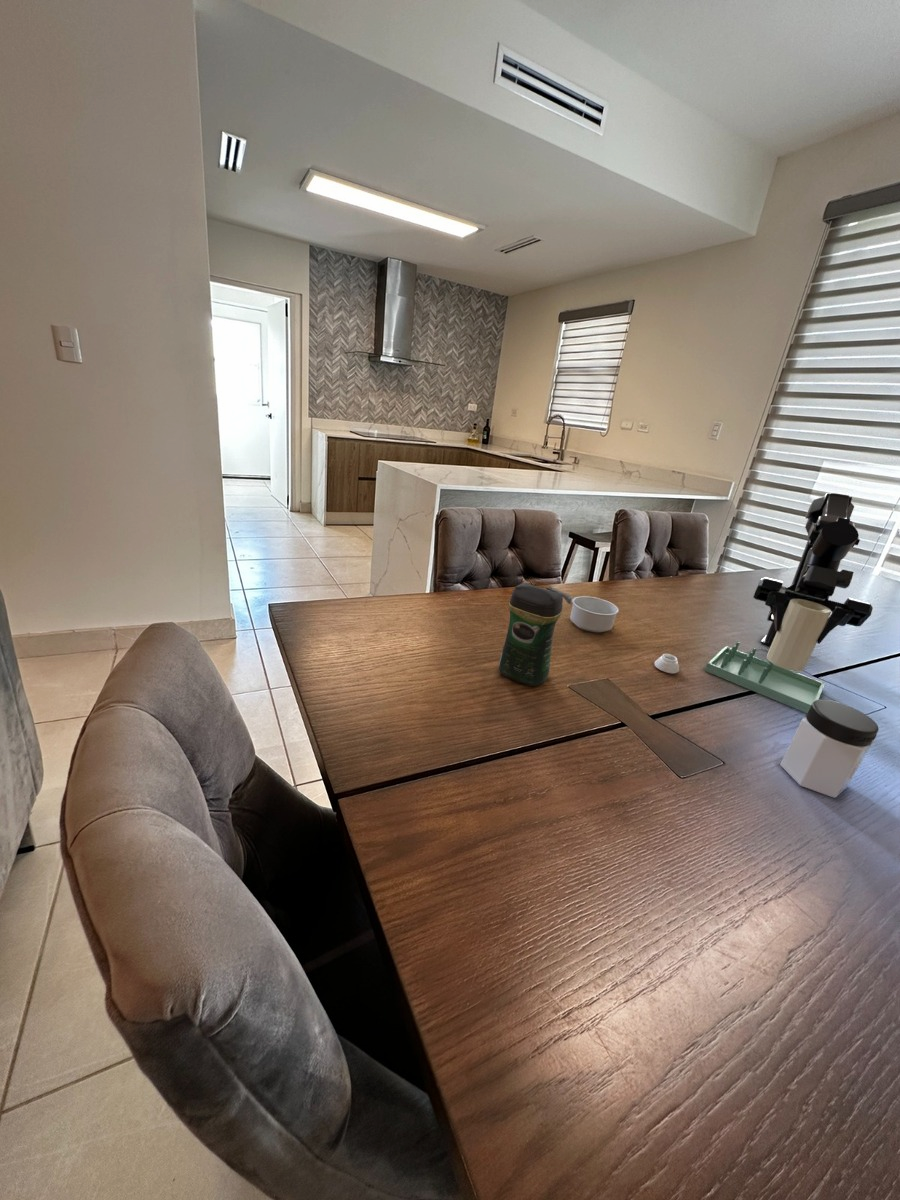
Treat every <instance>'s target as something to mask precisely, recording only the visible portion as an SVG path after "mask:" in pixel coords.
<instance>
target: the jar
mask: <svg viewBox="0 0 900 1200" xmlns="http://www.w3.org/2000/svg"><path fill="white" fill-rule="evenodd" d="M879 729H880V728H879V725H878V723H876V722H875V720H874V719H873V718H871V717H870V716H869V715H867V714H866V713H864V712H862V711H861V710H858V709H857V708H854V707H852V706H850V705H848V704H845V703H842V702H838V701H834V700H830V699H819V700H816V701H814V702H813V703H812V705H811V707H810V709H809V711H808V713H806V715H805V716H804V717H803V718H802V719H801V721H800V722H799V725H798V727H797V729H796V730H795V733H794V735H793V737H792V739H791V740H790V743H789V746H788V748H787V749H786V751H785V753H784V756H783V757H782V759H781V762H780V764H779V765H780V767H781V768H782V769H783V770H784V771H785V772H786V773H788V775H789V776H790V777H791V778H792V779H793V780H794V781H795V782H796V783H797V784H798V785H799V786H800V787H803V788H806V789H808V790H810V791H811V790H812V791H814V792H817V793H818V794H819V793H820V794H822V795H825V796H827V797H830V798H837V797H838V796H839V795H840V794H842V792H843V791H844V790H846V789H847V788H848V786H849V784H850V783H851V781H852V779H853V777H854V776H855V774H856V772H858V771H857V770H858V769H859V768H860V765H861V764H862V763H863V760H864V758H865V756H866V755H867V753H868V751H869V750H870V748H871V746H872V744H873V743H874V741H875V739H876V737H877V735H878V733H879Z"/></svg>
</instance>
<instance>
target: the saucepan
mask: <svg viewBox="0 0 900 1200" xmlns="http://www.w3.org/2000/svg"><path fill="white" fill-rule="evenodd" d="M545 589H546V590H549V591H552V592H556V593H560V594H562V596H563V600H565V601H566V603H567V604H569V605H572V607H571V611H570V616H569V619H570V621H571V622H572V623H573V624H574V625H575V626H576V627H578V628H579V629H581V630H584V631H587V632H591V633H603V632H608V631H610V630H612V629H613V627H614V623H615V620H616V616H617V614H618V613H619V610H620V609H619V607H618V606H617V605H616V604H614V603H612V602H610V601H608V600H606V599H603V598H599V597H594V596H588V595H579V596H575V597H573V596H571V595H569V594H567V593H565V592H563V591H561V590H559V589H556V588H554V587H551V586H549V585H548V586H546V587H545Z"/></svg>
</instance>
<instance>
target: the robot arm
mask: <svg viewBox="0 0 900 1200" xmlns="http://www.w3.org/2000/svg"><path fill="white" fill-rule="evenodd" d="M852 500H853V496H851V495H849V494H844V493H839V492H833V491H832V492H826V493H825V495H824V496H820V497H817V498H814V499H813V500H812V502H811V504H810V505H809V507H808V510H807V512H806V515H805V519H807V521H806V523H805V525H804V527H805V530H806V533H807V536H806V540H807V542H806V544H805V546H804V550H803V553H802V554H801V558H800V561H799V563H798V566H797V569H796V571H795V574H794V577H793V579H792V581H791V584H790V586H787V587H786V586H784V585H783V584H784V581H783V580H779V579H776V578H771V577H767V576H764V577H761V578H760V579H759V582H758V585H757V586H756V589H755V591H754V594H753V599H754V600H757V601H761V602H765V603H764V604H765V606H766V607H769V611H768V614H767V618H766V621H768V622H771V624H770V625H769V629H768V631H767V633H766V634H765V636H764V637H763V638H762V639H761V640H760V643H761V644H764V645H766V646H769V647H771V644H772V642H773V640H774V637H775V635H776V633H777V632H778V631H779V629H780V626H781V623H782V619H783V616H784V614H785V612H786V609H787V607H788V605H789V602H790V600H791V599H803V600H808V601H812V602H815V603H818V604H821V605H823V606H826V607H827V608H829V609H830V610H831V614H830V616H829V618H828V620H827V622H826V624H825V626H824V628H823V631H822V633H821V635H820V637H819V639H818V641H817V643H816V644H818V645H820V644H821V643H822V642H823V640H824V639H825V638H826V637H827V636H828V635H829V633H830V632H831V631H833V630H834V629H835V628H836V627H838V626H840V627H845V626H846V625H849V626H853V627H861V626H862V625H863V624H864V623H866V621H867V620H868V619H869V618H870V617H871V615H872V613H873V610H874V609H873V606H872V604H871V603H870V602H868V601H864V600H859V599H855V598H852V597H848V598H847V599H846V600H845V601H844V602H843V603H842V602H838V601H834V600H830V599H829V598H830V597H832V596H833V595H834V593H835V590H836V588H839V589H845V590H846V589H847V588H849V587H850V585H851V583H852V579H853V576H854V571H852V570H848V569H841V570H840V571H839V569H840V564H841V561H842V560H843V559H845V558H846V556H847V555H848V553H849V552H850V550H851V549H852V548H854V547H855V546H858V545H859V543H860V541H861V539H860V538H859V535H860V534H859V531H858V529H857V528H856V527H855V526H856V525H855V523H854V521H852V520H851V517H852V515H853V511H854V509H855V505H854V504H853V503H852Z"/></svg>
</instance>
